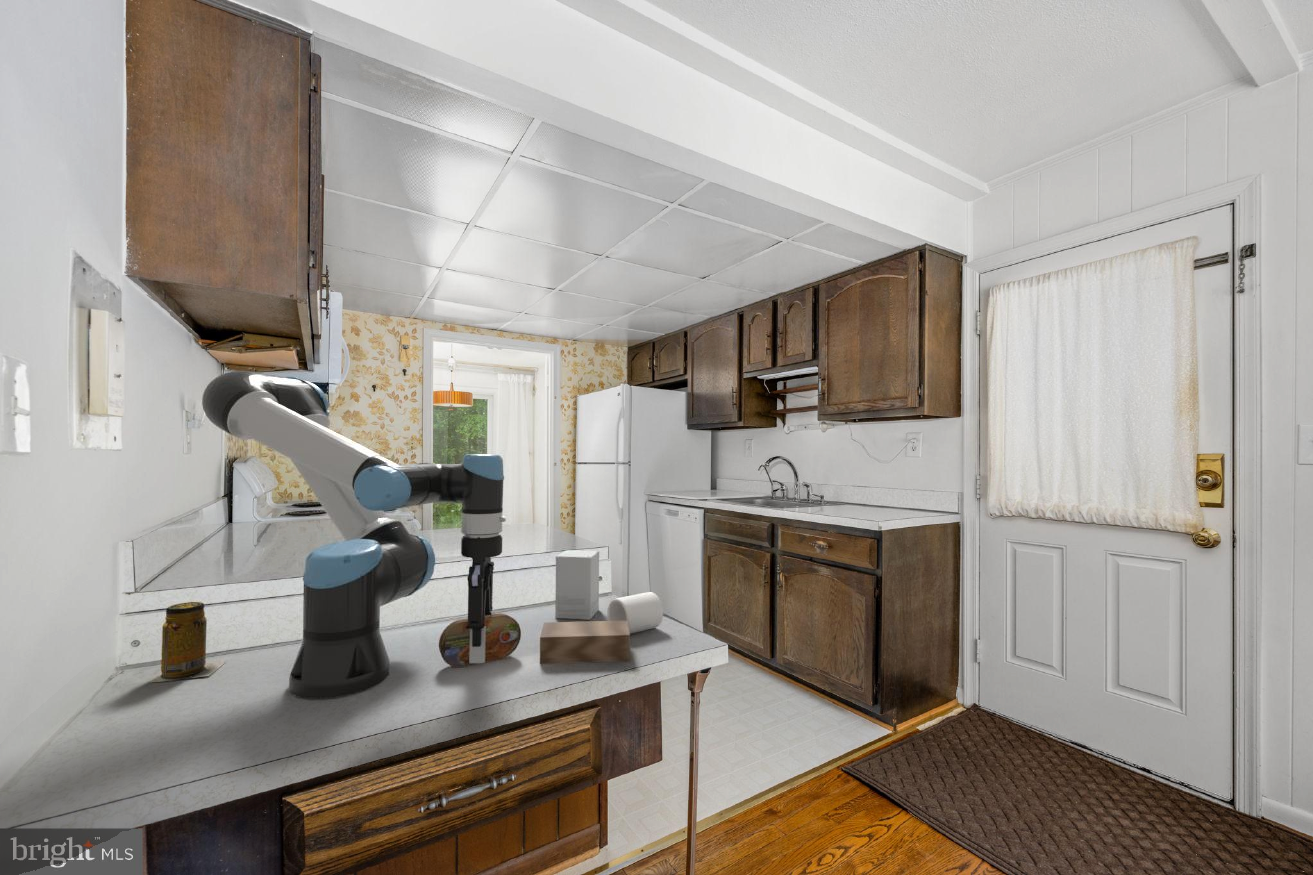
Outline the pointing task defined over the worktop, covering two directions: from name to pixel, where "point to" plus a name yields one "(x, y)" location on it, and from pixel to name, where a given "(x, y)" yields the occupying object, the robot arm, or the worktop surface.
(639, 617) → the mug
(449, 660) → the tin
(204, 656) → the condiment
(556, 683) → the worktop surface
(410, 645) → the worktop surface
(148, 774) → the worktop surface
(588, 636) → the plinth
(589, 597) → the supplement box
